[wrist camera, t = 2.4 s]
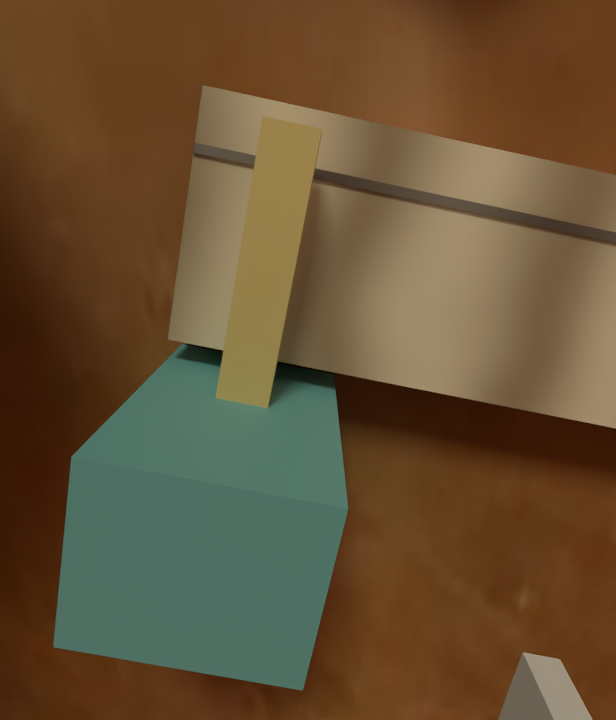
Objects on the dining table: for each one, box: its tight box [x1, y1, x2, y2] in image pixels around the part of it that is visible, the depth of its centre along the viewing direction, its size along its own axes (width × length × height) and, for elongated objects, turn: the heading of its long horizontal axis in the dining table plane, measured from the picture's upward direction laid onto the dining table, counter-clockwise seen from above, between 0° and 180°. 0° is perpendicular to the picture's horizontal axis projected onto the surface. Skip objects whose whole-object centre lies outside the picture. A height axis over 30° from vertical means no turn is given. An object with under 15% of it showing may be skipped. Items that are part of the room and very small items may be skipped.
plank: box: [168, 85, 616, 428], centre depth 19 cm, size 23×8×3 cm, turn 79°
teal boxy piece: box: [53, 116, 348, 691], centre depth 16 cm, size 6×13×10 cm, turn 169°
